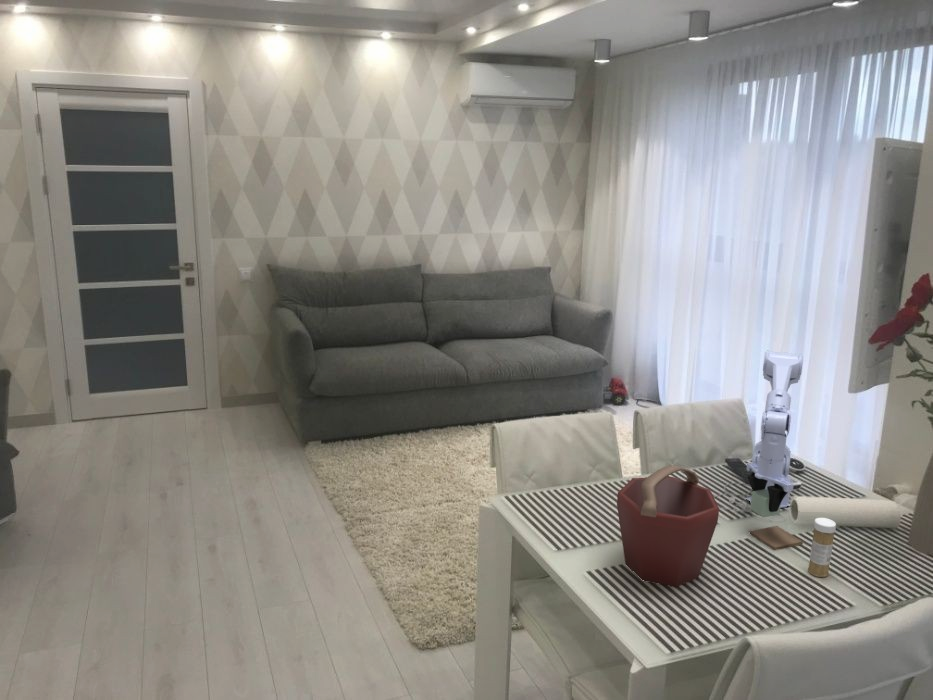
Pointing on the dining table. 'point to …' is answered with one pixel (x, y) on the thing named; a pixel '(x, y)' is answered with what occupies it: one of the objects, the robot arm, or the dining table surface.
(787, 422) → the robot arm
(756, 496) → the green cube
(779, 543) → the walnut board
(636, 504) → the bucket
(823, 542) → the sprinkles bottle
